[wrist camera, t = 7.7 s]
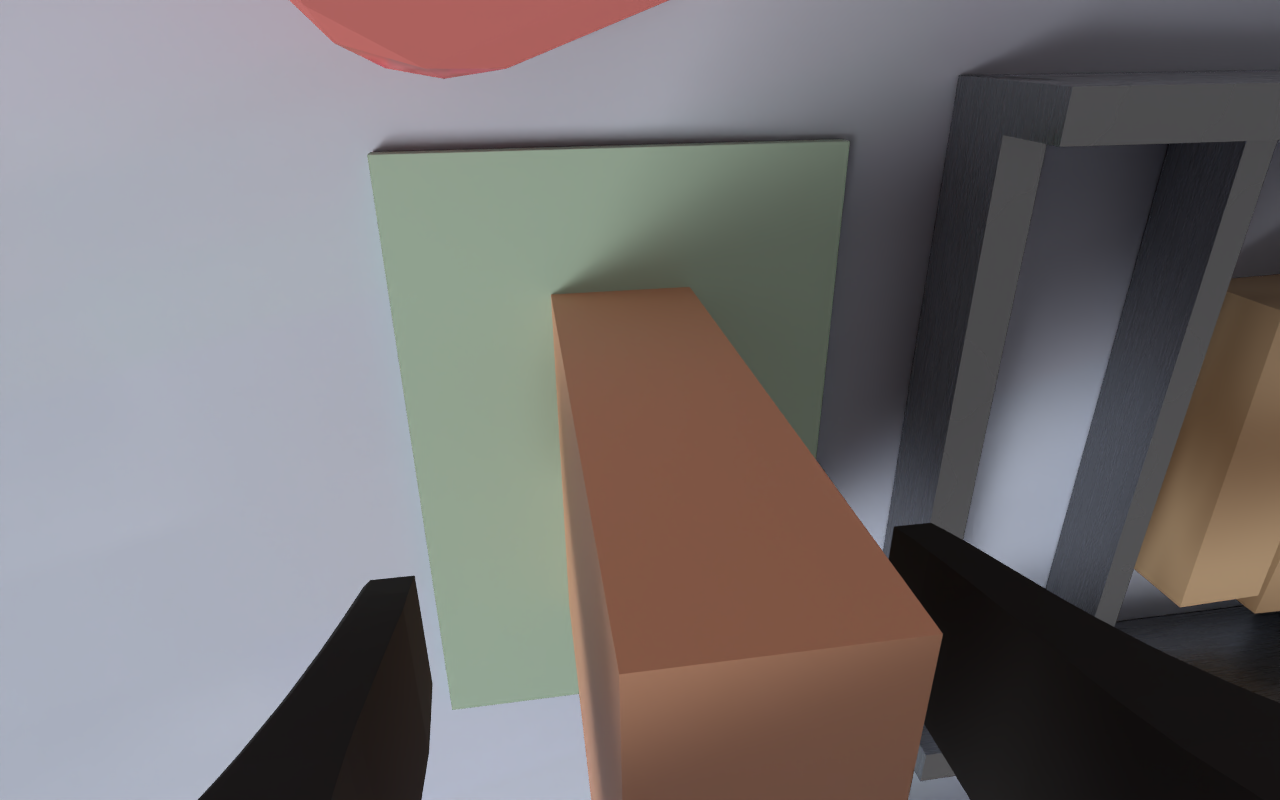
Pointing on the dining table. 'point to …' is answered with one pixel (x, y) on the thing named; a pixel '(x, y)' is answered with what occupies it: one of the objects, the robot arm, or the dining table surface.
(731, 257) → the mat
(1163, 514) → the offcut short
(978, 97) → the rack
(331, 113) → the dining table surface
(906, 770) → the tall orange plank
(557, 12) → the red flat case
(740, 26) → the dining table surface
